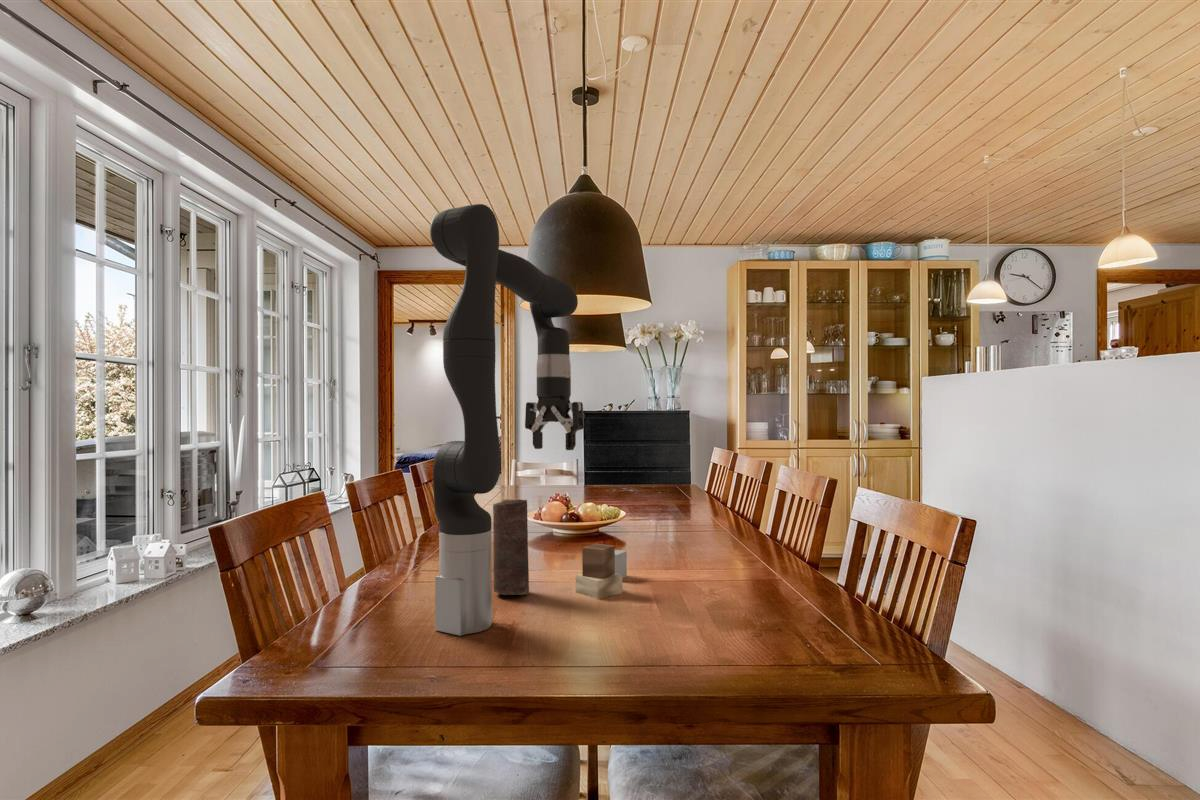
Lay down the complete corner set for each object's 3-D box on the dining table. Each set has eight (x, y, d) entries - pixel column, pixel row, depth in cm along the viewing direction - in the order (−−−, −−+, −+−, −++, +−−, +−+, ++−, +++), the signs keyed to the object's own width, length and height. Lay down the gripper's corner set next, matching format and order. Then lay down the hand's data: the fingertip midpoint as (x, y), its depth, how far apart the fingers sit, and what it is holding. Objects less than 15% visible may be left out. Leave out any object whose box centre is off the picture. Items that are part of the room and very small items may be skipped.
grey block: (615, 581, 150) (615, 555, 150) (596, 578, 152) (596, 552, 152) (626, 577, 154) (626, 551, 154) (608, 574, 157) (608, 548, 157)
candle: (510, 602, 134) (510, 503, 134) (485, 596, 139) (485, 500, 139) (536, 593, 140) (535, 498, 140) (511, 588, 145) (511, 496, 145)
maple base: (597, 600, 136) (597, 581, 136) (575, 593, 141) (575, 574, 141) (622, 594, 141) (622, 575, 141) (600, 587, 146) (600, 569, 146)
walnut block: (602, 579, 137) (602, 550, 137) (582, 576, 140) (582, 547, 140) (614, 573, 142) (614, 545, 142) (594, 570, 144) (594, 543, 144)
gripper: (517, 376, 147) (517, 449, 147) (570, 374, 139) (571, 451, 139) (538, 377, 153) (538, 447, 153) (590, 375, 146) (590, 449, 146)
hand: (553, 449), depth 146 cm, fingers open, 8 cm apart
